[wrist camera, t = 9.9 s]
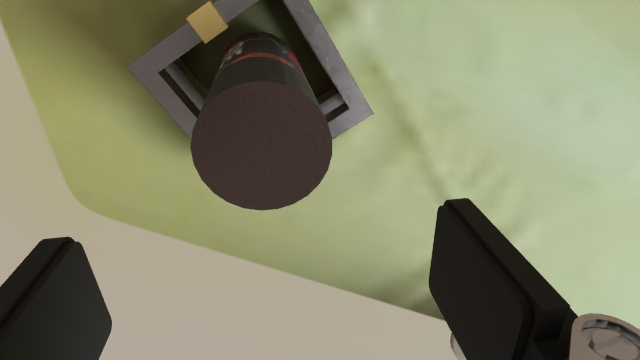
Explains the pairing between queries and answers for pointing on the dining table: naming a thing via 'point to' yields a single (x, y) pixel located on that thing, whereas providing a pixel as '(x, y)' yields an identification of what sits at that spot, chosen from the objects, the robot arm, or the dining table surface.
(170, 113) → the grey open cube frame
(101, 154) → the dining table surface
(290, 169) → the deodorant
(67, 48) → the dining table surface
